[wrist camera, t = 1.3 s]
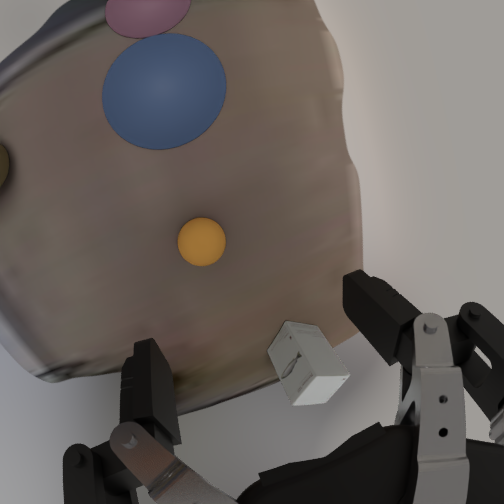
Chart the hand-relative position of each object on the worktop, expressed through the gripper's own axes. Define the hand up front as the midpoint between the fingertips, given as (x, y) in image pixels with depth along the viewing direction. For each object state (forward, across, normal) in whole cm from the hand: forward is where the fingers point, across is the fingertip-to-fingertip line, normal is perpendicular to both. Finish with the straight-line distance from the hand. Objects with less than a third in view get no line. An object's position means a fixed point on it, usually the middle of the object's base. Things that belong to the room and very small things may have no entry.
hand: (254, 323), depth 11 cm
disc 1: (+24, +1, -24) cm, 34 cm away
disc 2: (+24, +1, -12) cm, 27 cm away
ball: (+22, +1, +6) cm, 23 cm away
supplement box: (+25, -9, +30) cm, 40 cm away
